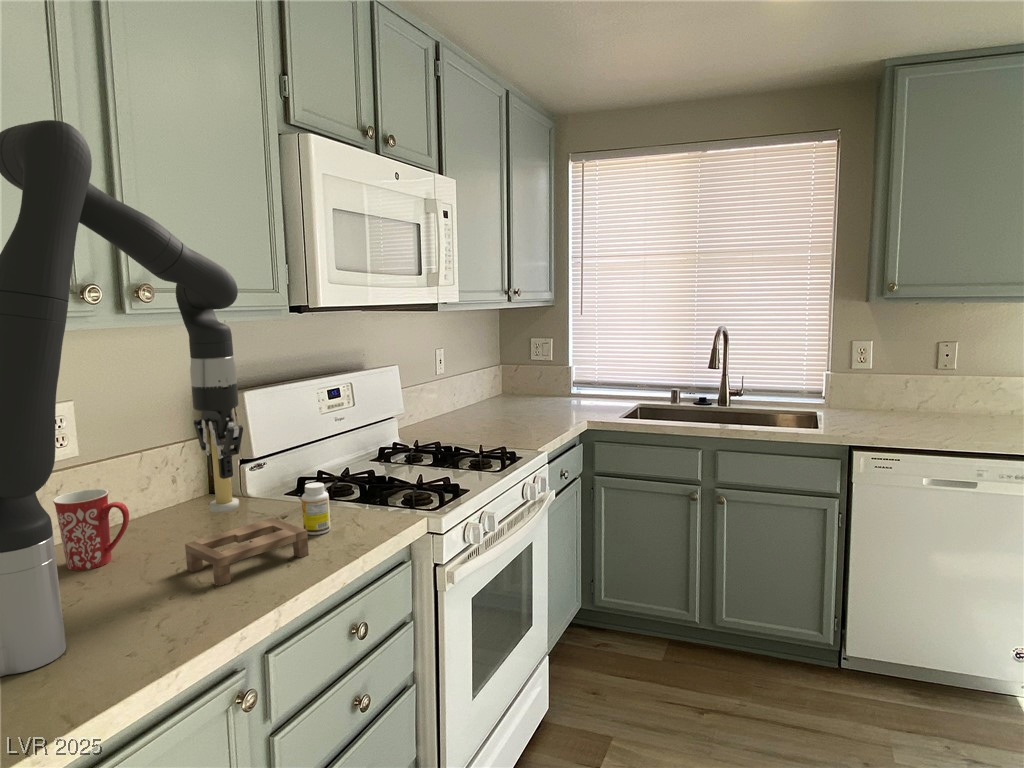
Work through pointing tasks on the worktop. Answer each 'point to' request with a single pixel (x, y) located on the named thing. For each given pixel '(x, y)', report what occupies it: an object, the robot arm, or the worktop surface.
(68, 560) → the mug
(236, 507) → the peg
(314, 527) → the supplement bottle
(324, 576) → the worktop surface
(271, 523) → the keyhole board
